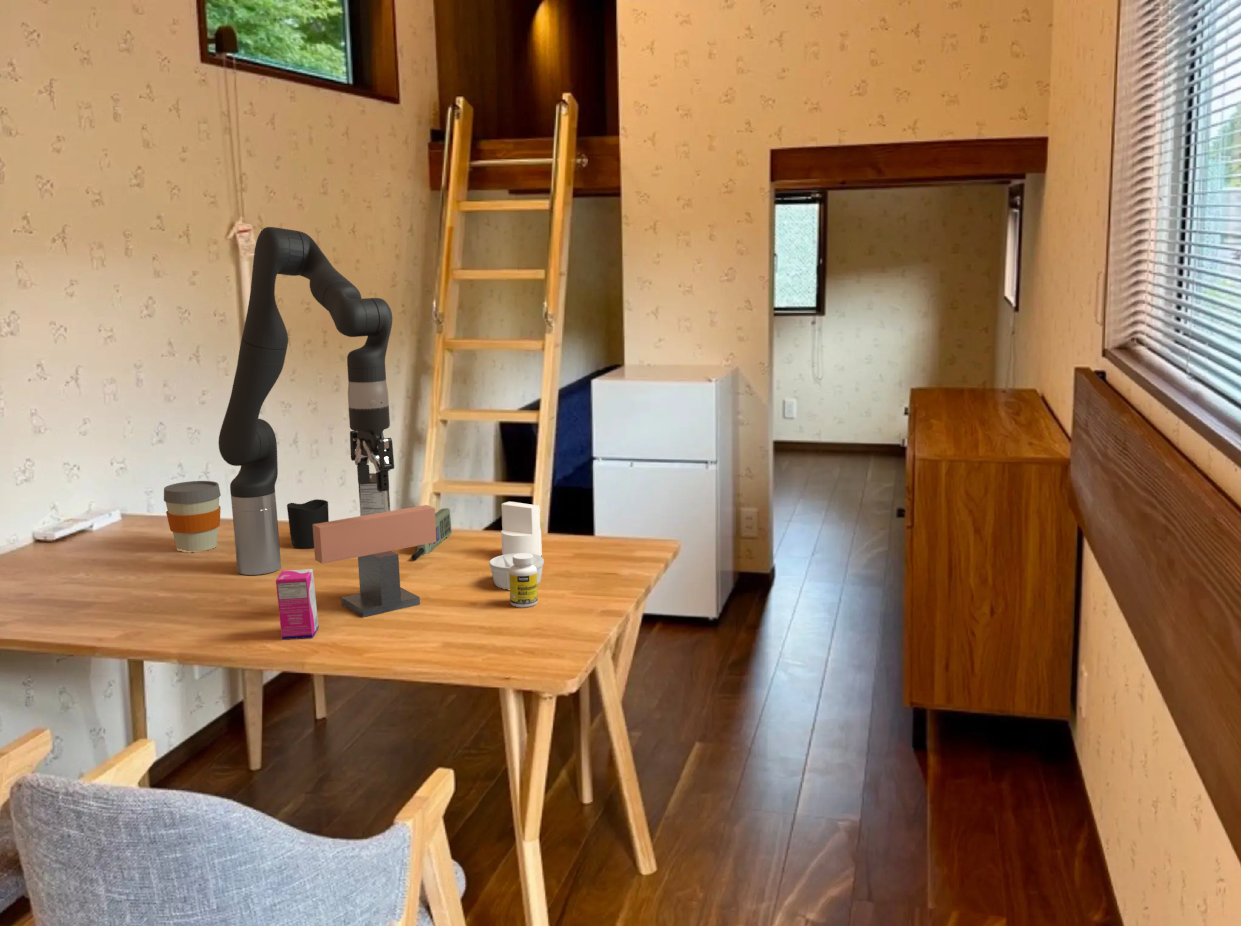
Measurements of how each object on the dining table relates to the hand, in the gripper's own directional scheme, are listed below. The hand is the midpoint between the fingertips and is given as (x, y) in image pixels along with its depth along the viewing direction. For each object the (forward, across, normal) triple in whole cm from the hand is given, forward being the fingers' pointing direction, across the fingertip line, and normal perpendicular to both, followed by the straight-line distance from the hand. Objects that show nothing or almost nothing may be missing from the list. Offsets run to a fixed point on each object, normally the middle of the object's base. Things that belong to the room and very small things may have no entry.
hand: (373, 487), depth 213 cm
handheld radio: (+24, +32, -28) cm, 49 cm away
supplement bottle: (+24, -18, -22) cm, 37 cm away
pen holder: (+24, +53, -7) cm, 59 cm away
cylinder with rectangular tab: (+24, +11, -40) cm, 48 cm away
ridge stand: (+24, 0, 0) cm, 24 cm away
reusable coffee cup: (+24, +68, +15) cm, 74 cm away
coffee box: (+24, +44, -20) cm, 54 cm away
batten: (+13, 0, 0) cm, 13 cm away
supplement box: (+24, -6, +19) cm, 31 cm away
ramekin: (+24, -6, -28) cm, 37 cm away
